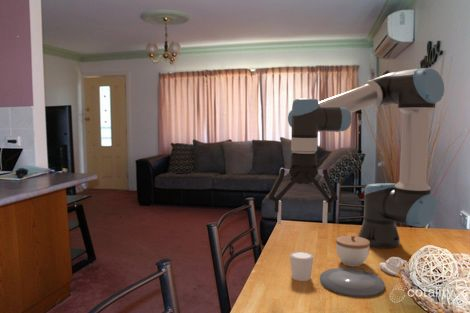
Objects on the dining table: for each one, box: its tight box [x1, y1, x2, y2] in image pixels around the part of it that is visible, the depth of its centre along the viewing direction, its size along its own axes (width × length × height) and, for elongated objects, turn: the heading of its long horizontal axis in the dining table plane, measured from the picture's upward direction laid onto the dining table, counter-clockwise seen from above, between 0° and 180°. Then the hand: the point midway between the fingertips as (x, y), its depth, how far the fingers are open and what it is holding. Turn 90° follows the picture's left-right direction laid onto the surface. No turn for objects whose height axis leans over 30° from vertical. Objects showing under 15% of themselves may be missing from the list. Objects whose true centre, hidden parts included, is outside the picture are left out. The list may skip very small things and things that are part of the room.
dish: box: [319, 267, 385, 298], centre depth 115 cm, size 18×18×1 cm
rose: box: [379, 256, 408, 277], centre depth 125 cm, size 10×4×10 cm
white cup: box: [289, 251, 314, 282], centre depth 119 cm, size 7×7×7 cm
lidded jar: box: [335, 234, 371, 267], centre depth 131 cm, size 11×11×9 cm
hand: (301, 223), depth 118 cm, fingers open, 13 cm apart
